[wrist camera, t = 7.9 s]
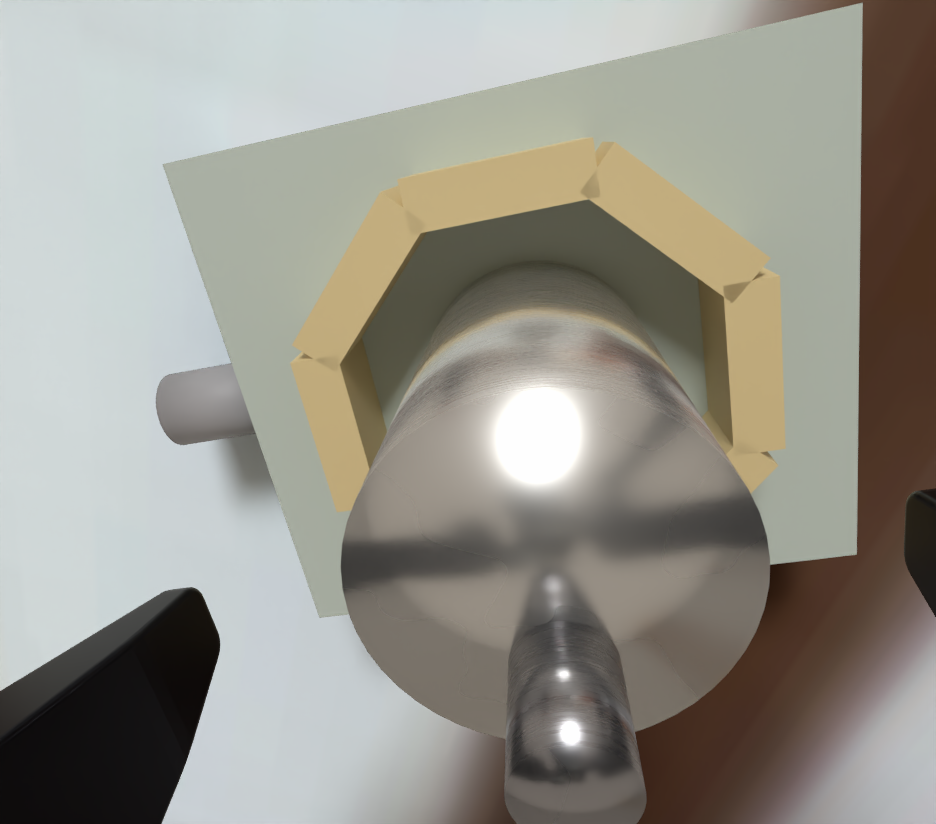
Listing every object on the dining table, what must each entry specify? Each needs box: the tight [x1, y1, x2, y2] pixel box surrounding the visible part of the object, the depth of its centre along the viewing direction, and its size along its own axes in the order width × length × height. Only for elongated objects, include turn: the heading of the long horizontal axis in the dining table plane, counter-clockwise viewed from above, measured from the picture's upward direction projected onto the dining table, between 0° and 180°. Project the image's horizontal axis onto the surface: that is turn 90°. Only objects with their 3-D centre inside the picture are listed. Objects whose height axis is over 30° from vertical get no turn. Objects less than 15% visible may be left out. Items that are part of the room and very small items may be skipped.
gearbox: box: [156, 3, 863, 618], centre depth 16 cm, size 17×12×6 cm
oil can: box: [341, 261, 770, 824], centre depth 11 cm, size 5×5×10 cm
